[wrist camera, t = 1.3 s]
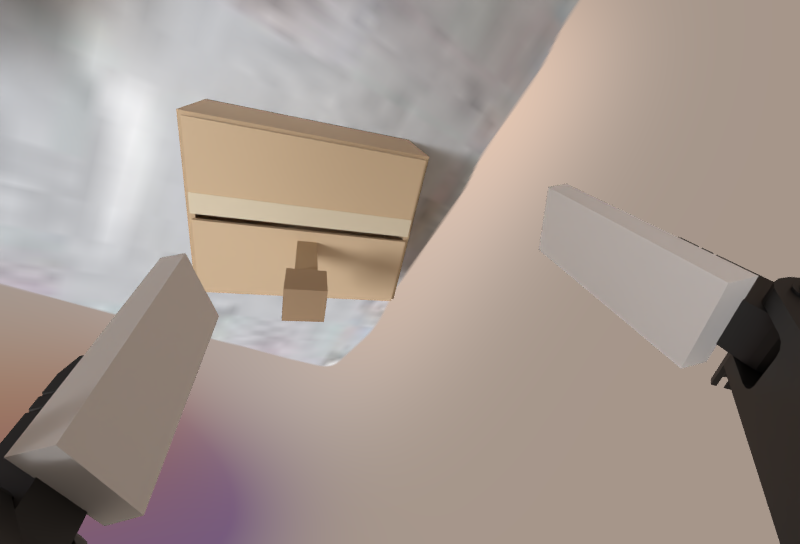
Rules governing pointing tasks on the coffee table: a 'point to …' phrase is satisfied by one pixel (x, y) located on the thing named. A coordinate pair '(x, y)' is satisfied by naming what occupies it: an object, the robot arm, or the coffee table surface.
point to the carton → (296, 173)
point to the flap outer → (294, 265)
